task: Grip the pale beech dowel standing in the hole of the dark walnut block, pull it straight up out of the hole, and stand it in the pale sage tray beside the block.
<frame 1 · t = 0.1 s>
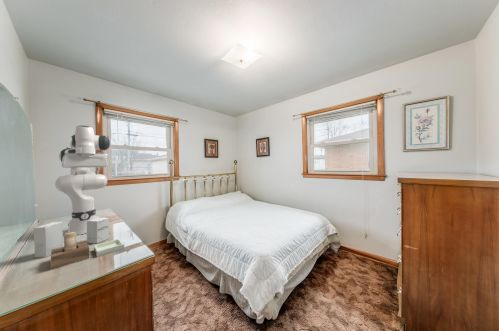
hand: (86, 174, 105), 39 cm above the table, tool pointing down, fingers open, 8 cm apart
walnut hole block: (70, 259, 83), on the table
skincare box: (49, 254, 89), on the table
supplement box: (98, 241, 104), on the table
beech dowel: (70, 246, 83), in the walnut hole block
sage tray: (109, 249, 92), on the table
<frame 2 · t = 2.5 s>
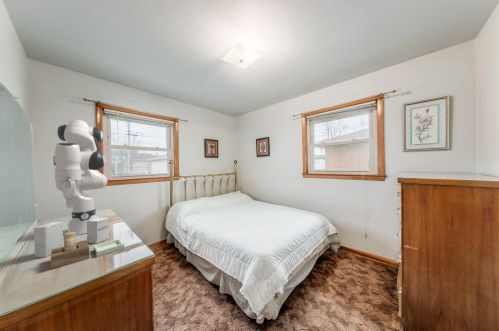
hand: (69, 206, 83), 25 cm above the table, tool pointing down, fingers open, 8 cm apart
nothing on the table moved.
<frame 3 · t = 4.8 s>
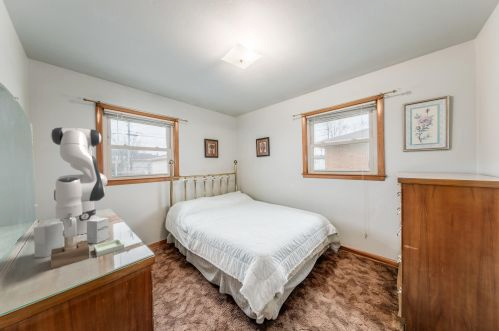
hand: (70, 241, 83), 8 cm above the table, tool pointing down, fingers closed on beech dowel, 4 cm apart
beech dowel: (70, 246, 83), in the walnut hole block, touching gripper
everything else where it was.
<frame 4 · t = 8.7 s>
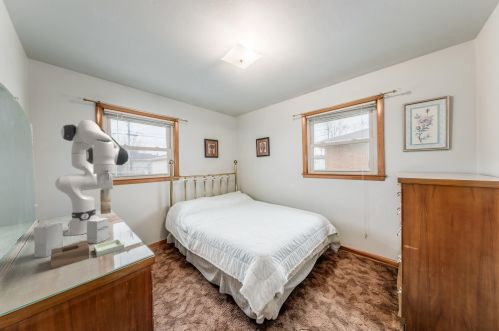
hand: (105, 197, 91), 27 cm above the table, tool pointing down, fingers closed on beech dowel, 4 cm apart
beech dowel: (105, 201, 91), point 25 cm above the table, touching gripper
everything else where it was.
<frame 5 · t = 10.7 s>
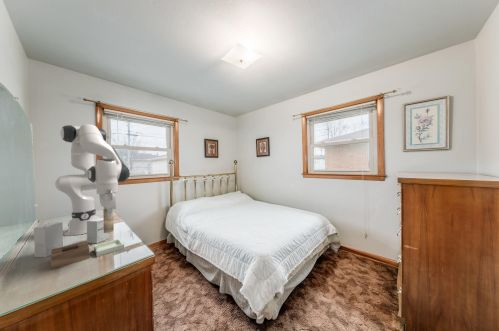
hand: (108, 216, 92), 17 cm above the table, tool pointing down, fingers closed on beech dowel, 4 cm apart
beech dowel: (108, 220, 92), point 15 cm above the table, touching gripper
everything else where it was.
when the fingers open (11 cm above the table, at t = 12.4 s): beech dowel drops 2 cm, resting on sage tray.
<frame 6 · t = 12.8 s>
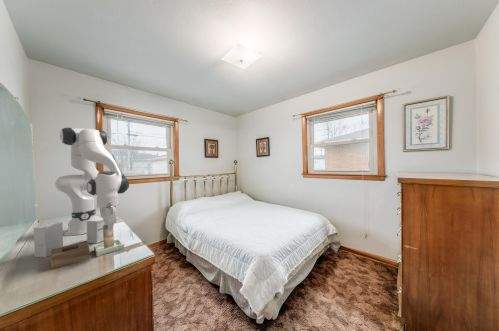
hand: (108, 229, 92), 11 cm above the table, tool pointing down, fingers open, 8 cm apart
beech dowel: (108, 236, 92), in the sage tray, point 7 cm above the table
everything else where it was.
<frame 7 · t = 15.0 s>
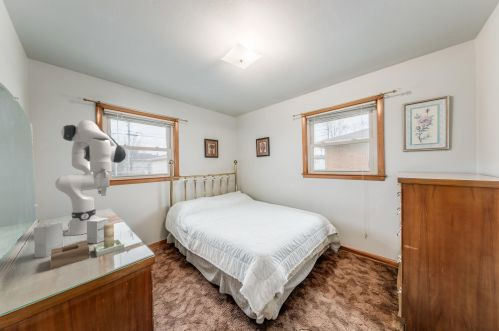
hand: (101, 194, 93), 28 cm above the table, tool pointing down, fingers open, 8 cm apart
nothing on the table moved.
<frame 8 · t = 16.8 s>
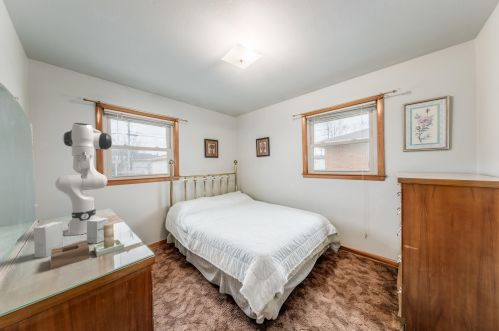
hand: (84, 178, 95), 37 cm above the table, tool pointing down, fingers open, 8 cm apart
nothing on the table moved.
at the end: beech dowel 0.1 cm off-centre on the sage tray, point 6.8 cm above the sage tray's base; beech dowel tilted 1°; the gripper is holding nothing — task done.
